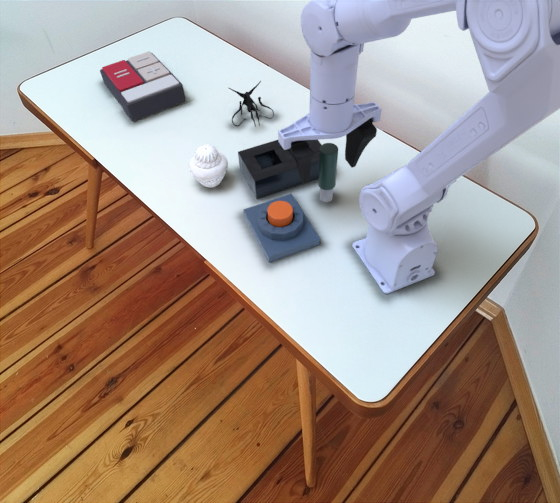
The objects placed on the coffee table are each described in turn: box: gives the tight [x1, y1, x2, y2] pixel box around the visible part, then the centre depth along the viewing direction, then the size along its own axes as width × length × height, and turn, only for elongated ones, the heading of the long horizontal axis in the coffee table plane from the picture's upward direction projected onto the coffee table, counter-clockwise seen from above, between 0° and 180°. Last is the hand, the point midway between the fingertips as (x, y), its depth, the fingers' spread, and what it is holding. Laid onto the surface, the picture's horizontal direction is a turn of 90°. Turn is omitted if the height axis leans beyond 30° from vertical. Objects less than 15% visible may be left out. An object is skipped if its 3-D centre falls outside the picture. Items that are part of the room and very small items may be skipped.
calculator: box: [99, 51, 187, 122], centre depth 98 cm, size 11×4×15 cm
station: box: [242, 193, 321, 263], centre depth 76 cm, size 10×8×3 cm
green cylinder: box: [317, 142, 339, 203], centre depth 77 cm, size 3×3×10 cm
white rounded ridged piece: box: [188, 144, 229, 189], centre depth 81 cm, size 6×6×7 cm
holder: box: [237, 139, 322, 200], centre depth 83 cm, size 7×13×4 cm, turn 113°
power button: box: [267, 201, 293, 227], centre depth 74 cm, size 4×4×2 cm
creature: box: [228, 80, 275, 127], centre depth 92 cm, size 8×5×8 cm
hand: (327, 170), depth 76 cm, fingers open, 7 cm apart
